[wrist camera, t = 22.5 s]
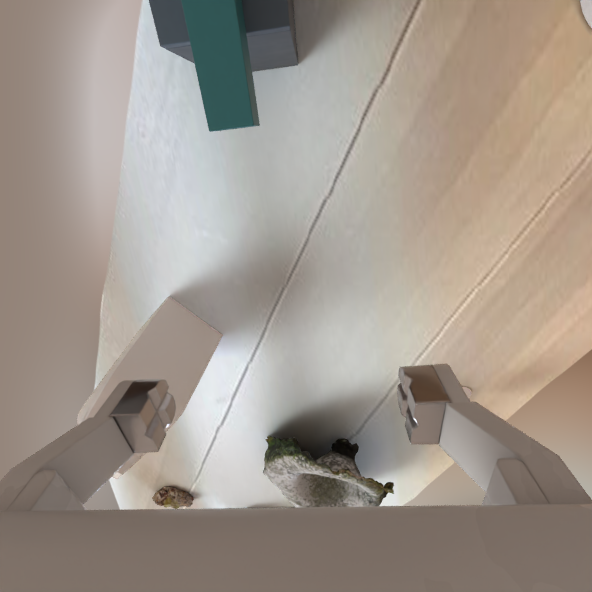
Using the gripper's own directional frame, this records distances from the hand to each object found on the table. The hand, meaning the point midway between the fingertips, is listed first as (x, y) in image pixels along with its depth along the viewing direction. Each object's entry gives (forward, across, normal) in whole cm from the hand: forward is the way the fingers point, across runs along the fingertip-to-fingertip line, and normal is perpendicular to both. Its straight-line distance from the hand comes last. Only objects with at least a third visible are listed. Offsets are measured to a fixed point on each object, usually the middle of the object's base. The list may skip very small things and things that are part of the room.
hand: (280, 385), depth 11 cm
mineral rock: (+39, +43, +78) cm, 98 cm away
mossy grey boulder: (+39, +1, +60) cm, 72 cm away
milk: (+39, +26, +24) cm, 53 cm away
